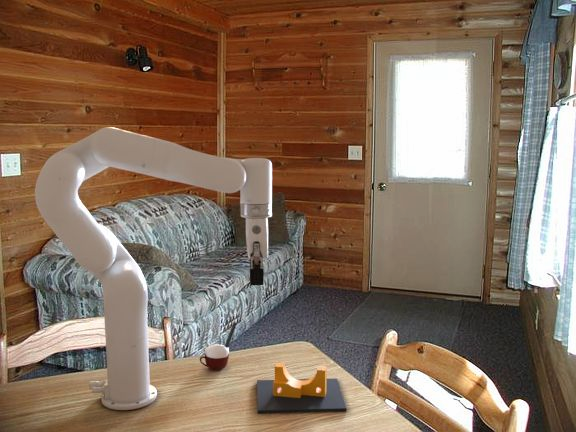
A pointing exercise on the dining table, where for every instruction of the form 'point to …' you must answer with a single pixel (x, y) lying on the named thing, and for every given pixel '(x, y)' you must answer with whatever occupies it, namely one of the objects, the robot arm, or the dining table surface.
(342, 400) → the mat
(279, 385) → the pipe clamp
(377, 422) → the dining table surface
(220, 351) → the cocoa
